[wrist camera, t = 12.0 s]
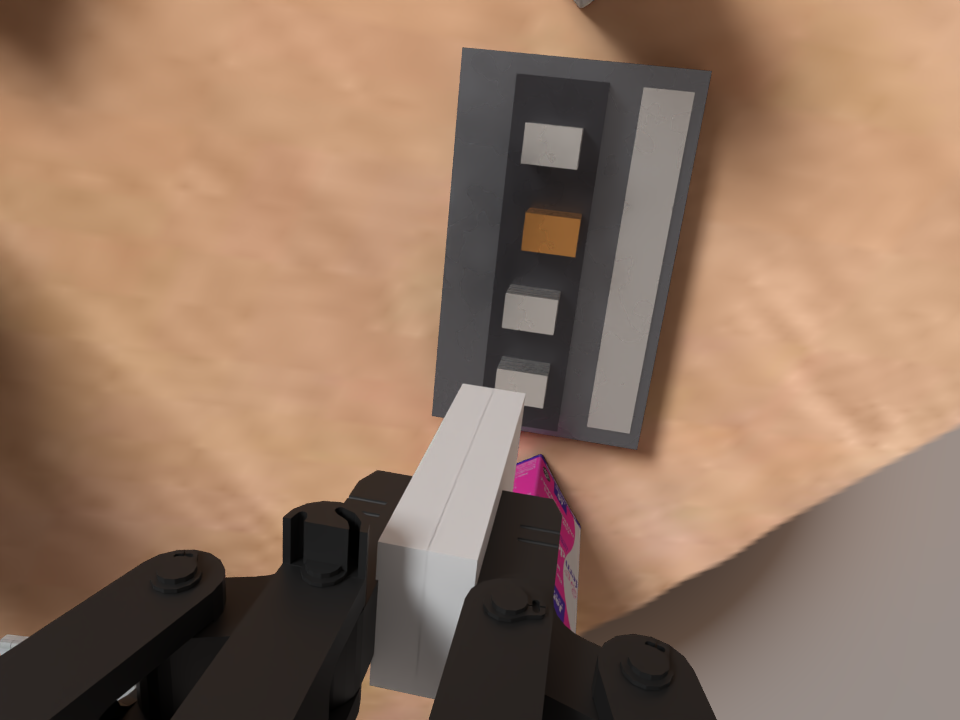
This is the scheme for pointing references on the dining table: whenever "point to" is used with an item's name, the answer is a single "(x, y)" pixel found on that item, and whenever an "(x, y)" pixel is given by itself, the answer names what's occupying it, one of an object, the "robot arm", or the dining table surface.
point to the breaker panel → (487, 216)
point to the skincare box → (582, 3)
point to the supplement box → (541, 483)
